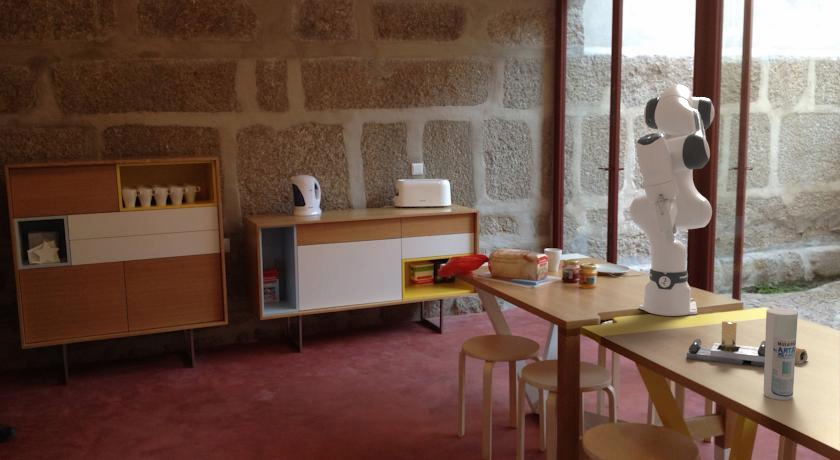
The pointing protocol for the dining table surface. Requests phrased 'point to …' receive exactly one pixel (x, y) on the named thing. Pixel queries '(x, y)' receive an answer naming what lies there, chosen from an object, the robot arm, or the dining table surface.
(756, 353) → the grey roller block
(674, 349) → the dining table surface
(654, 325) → the dining table surface
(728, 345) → the gold rounded cylinder
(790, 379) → the spray can
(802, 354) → the pastry
